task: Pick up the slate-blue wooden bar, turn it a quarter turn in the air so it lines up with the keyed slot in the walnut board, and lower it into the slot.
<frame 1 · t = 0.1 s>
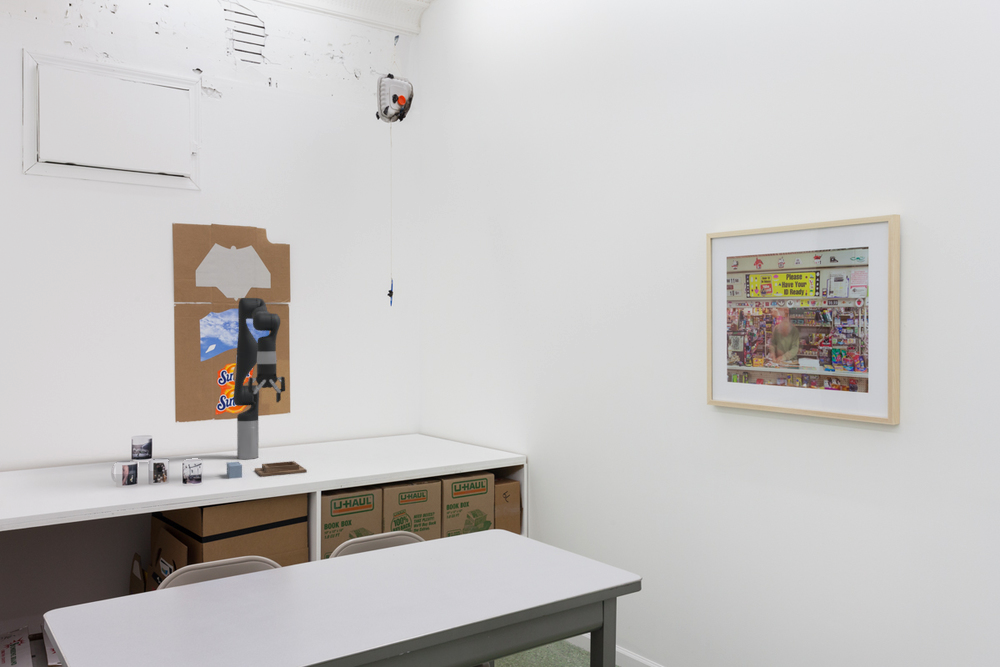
hand: (266, 402, 284), 29 cm above the table, fingers open, 8 cm apart
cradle: (280, 471, 290), on the table
bar: (234, 476, 281), on the table
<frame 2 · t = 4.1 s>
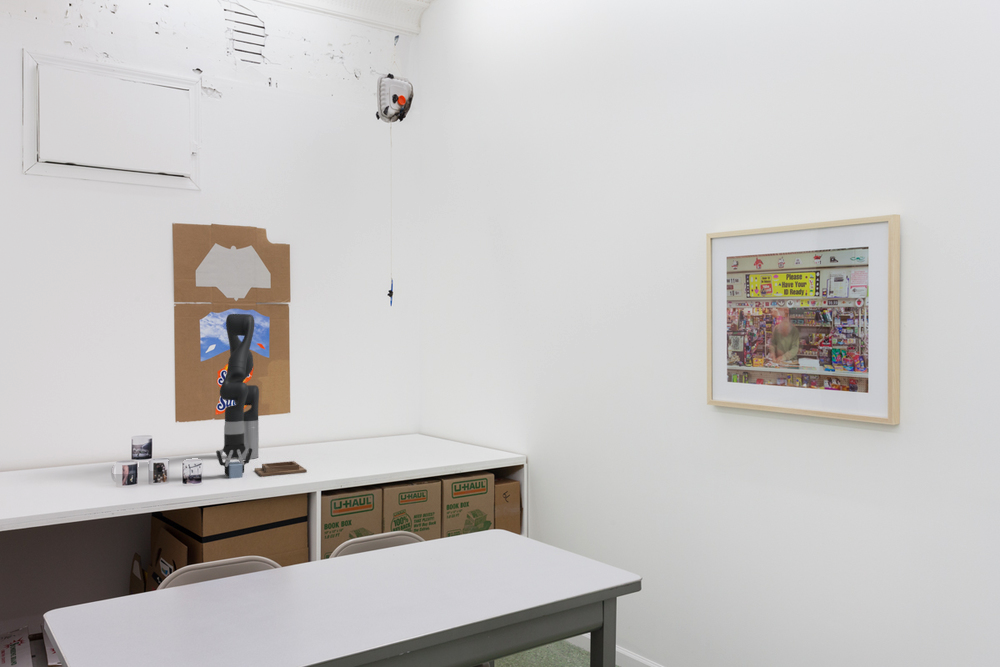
hand: (234, 474, 281), 0 cm above the table, fingers closed on bar, 4 cm apart
bar: (234, 476, 281), on the table, touching gripper
when the fingers open (3 cm above the table, at t = 10.7 s): bar drops 1 cm, resting on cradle.
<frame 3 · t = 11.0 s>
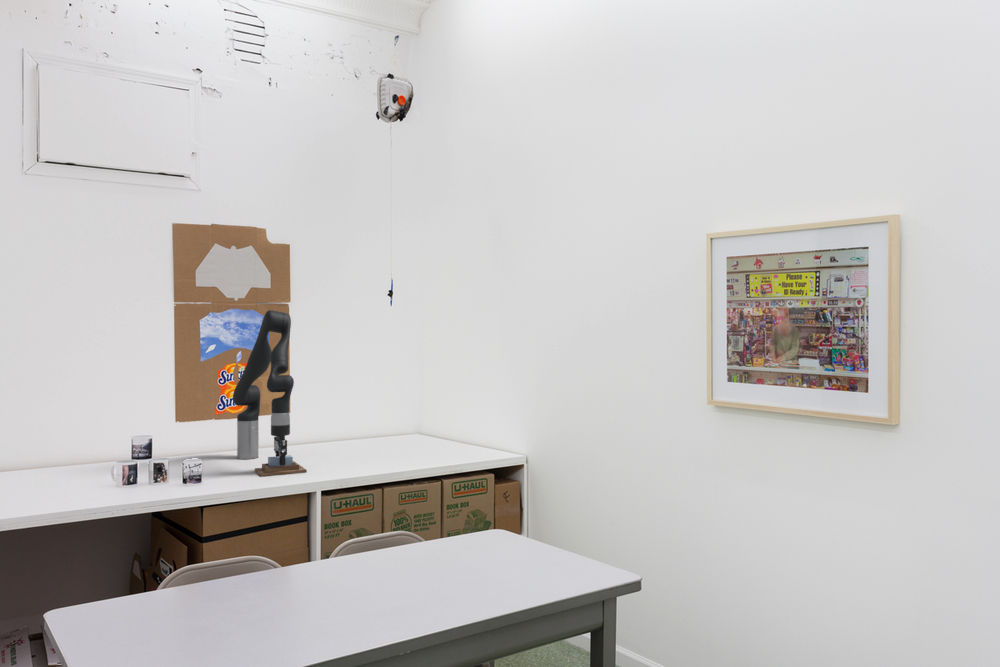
hand: (280, 463, 290), 3 cm above the table, fingers open, 7 cm apart
bar: (280, 469, 290), point 1 cm above the table, touching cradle
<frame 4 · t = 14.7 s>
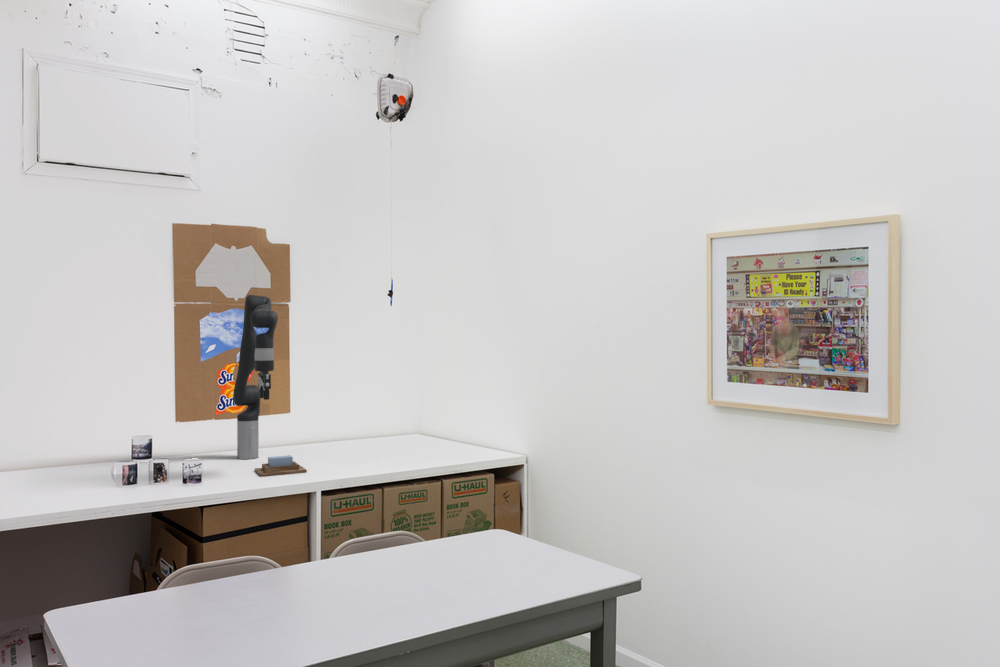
hand: (264, 398, 289), 30 cm above the table, fingers open, 8 cm apart
nothing on the table moved.
at the end: bar 0.1 cm off-centre on the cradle, point 1.0 cm above the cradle's base; bar tilted 0°; the gripper is holding nothing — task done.
